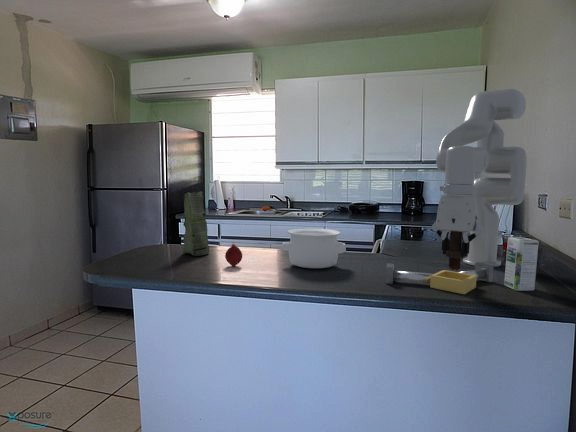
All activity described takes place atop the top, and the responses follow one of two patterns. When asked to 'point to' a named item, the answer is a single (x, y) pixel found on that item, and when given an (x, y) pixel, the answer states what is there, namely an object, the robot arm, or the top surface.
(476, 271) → the shaft
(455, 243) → the bolt
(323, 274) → the top surface
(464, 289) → the yoke socket
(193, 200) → the pouch
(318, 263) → the pot
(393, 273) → the shaft
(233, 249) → the onion
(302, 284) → the top surface
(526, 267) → the syrup box
